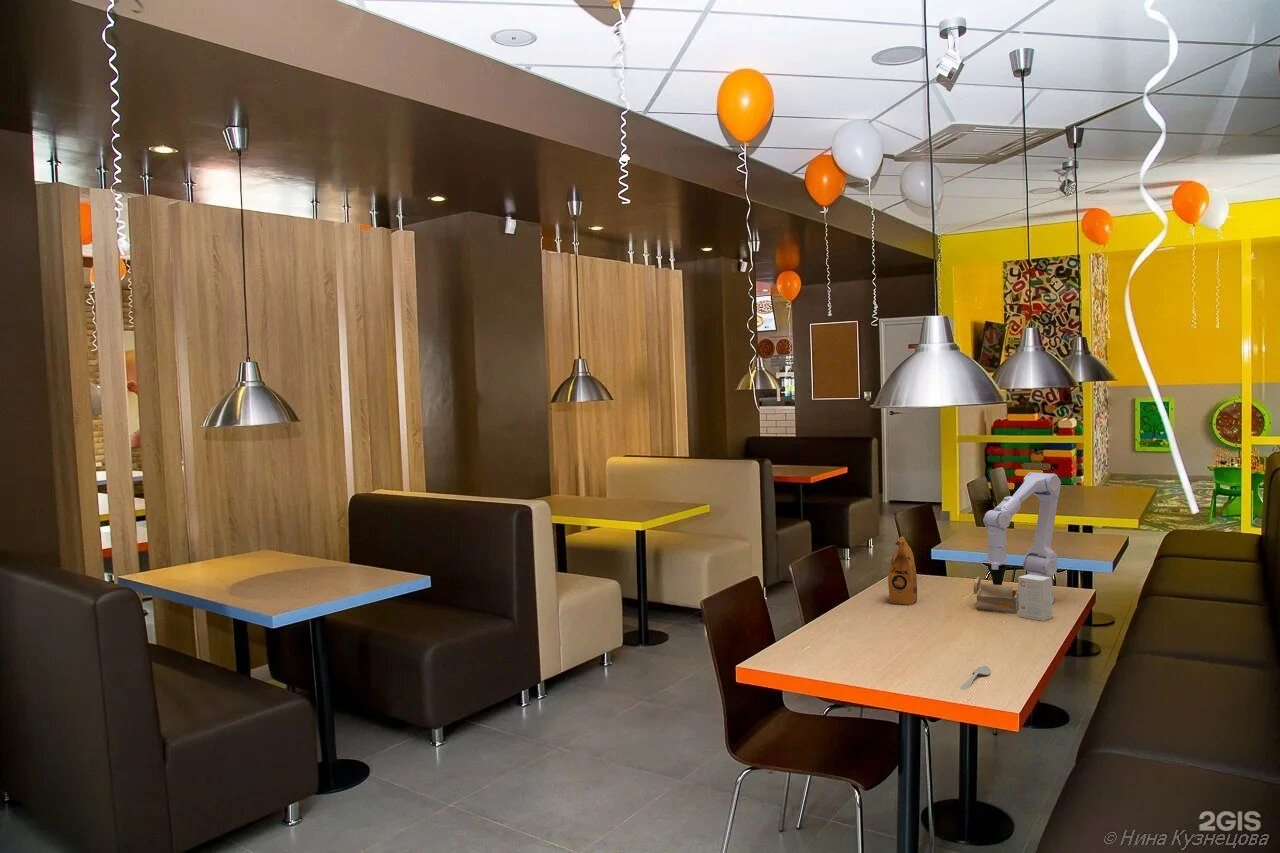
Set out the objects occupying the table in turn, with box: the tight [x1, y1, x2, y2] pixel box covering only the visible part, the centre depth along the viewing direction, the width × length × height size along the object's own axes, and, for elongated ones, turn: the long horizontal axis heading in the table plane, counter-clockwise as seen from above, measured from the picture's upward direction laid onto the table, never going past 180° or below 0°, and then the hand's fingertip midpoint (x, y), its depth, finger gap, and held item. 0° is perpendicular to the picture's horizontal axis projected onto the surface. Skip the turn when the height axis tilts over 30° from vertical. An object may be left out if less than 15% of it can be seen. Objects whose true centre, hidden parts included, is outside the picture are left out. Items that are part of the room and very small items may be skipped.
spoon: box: [959, 665, 992, 691], centre depth 220 cm, size 4×21×2 cm, turn 141°
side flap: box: [972, 575, 982, 595], centre depth 295 cm, size 4×10×1 cm
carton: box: [976, 588, 1019, 614], centre depth 292 cm, size 12×12×5 cm
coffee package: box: [887, 535, 918, 606], centre depth 305 cm, size 10×12×22 cm
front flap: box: [980, 583, 1013, 599], centre depth 286 cm, size 4×10×1 cm
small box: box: [1017, 573, 1053, 622], centre depth 278 cm, size 8×6×13 cm
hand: (997, 587), depth 290 cm, fingers closed
